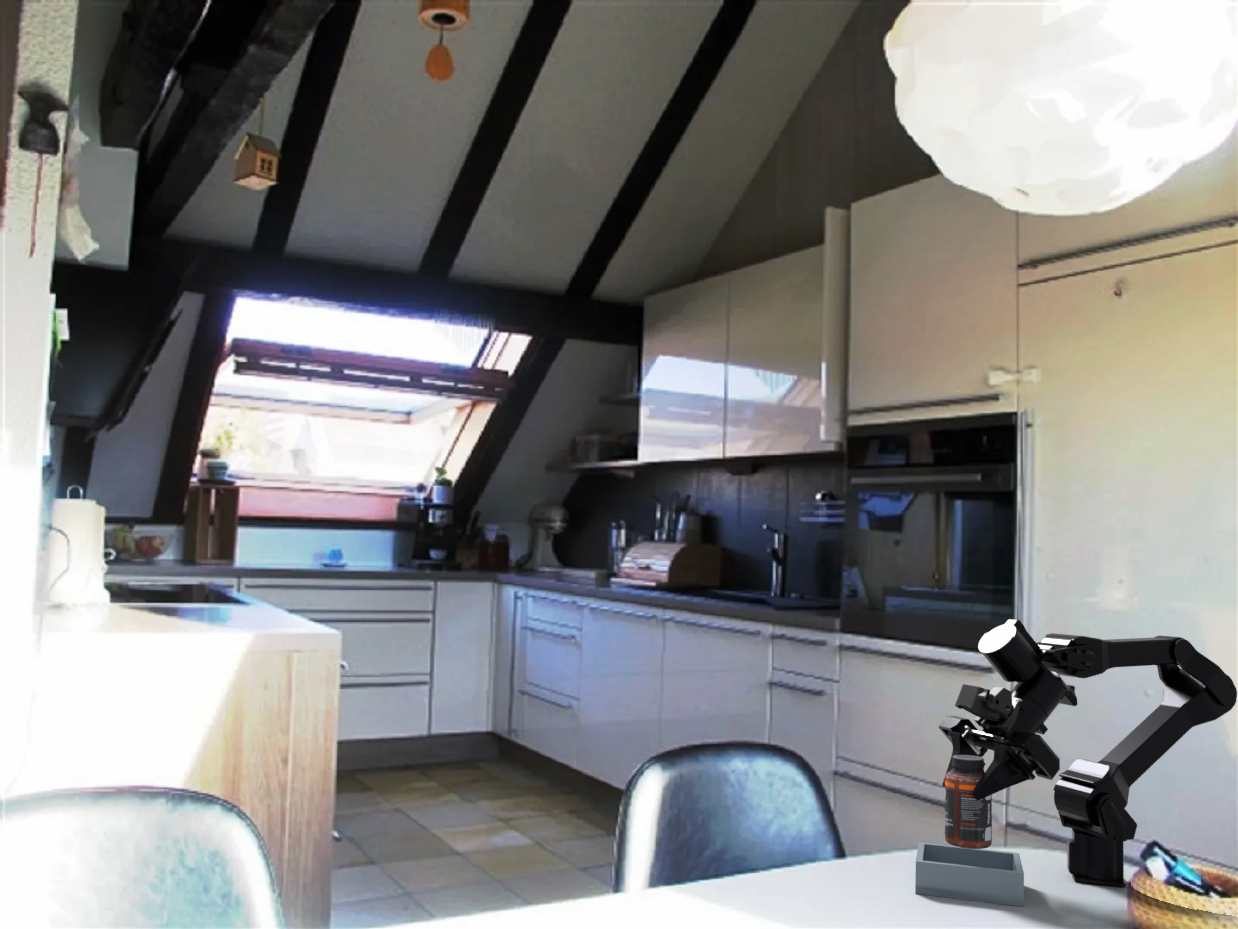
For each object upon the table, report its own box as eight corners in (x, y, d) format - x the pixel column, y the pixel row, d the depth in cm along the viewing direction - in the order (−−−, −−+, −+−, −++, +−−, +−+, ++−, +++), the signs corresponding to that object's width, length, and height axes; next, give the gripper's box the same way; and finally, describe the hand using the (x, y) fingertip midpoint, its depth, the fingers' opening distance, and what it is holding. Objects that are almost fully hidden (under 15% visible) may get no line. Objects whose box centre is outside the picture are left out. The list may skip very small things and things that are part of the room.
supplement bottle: (1001, 849, 141) (1001, 760, 142) (962, 851, 139) (962, 761, 140) (974, 838, 147) (974, 752, 148) (935, 840, 145) (936, 753, 146)
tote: (1019, 884, 145) (1019, 853, 146) (1023, 907, 135) (1023, 873, 135) (918, 872, 149) (918, 842, 150) (915, 893, 139) (915, 861, 139)
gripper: (950, 658, 155) (882, 738, 151) (1040, 670, 138) (967, 762, 133) (996, 713, 157) (931, 794, 153) (1091, 732, 140) (1021, 825, 135)
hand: (959, 792), depth 143 cm, fingers closed on supplement bottle, 6 cm apart
